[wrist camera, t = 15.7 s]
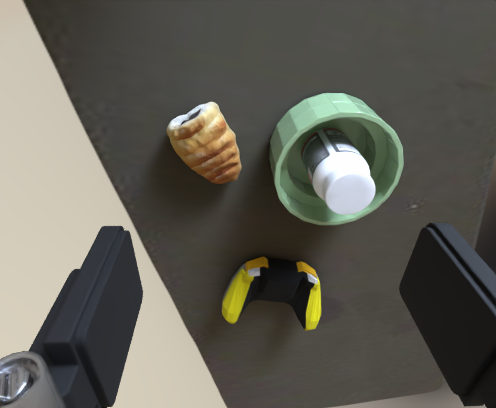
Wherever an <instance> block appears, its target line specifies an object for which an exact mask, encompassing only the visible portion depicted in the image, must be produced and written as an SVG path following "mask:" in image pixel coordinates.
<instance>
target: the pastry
mask: <svg viewBox="0 0 496 408" xmlns="http://www.w3.org/2000/svg"><path fill="white" fill-rule="evenodd" d="M167 135H168V136H169V138H170V142H171V144H172V146H173V148H174V150H175V152H176V153H177V154H178V155H179V156H180V157H181V158H182V160H183V161H184V162H185V164H187V165H188V166H189V167H190V168H191V169H192V170H194V171H196V172H197V173H198V174H200V175H202V176H204V177H205V178H206V179H207V180H209V181H211V182H213V183H215V184H222V183H226V182H229V181H234V180H236V179H237V177H238V175H239V172H240V170H241V163H240V159H239V150H238V147H237V144H236V140H235V139H236V137H235V134H234V132H233V131H232V130H231V129H230V128H229V126H228V124H227V123H226V121H225V118H224V117H223V115H222V114H221V112H220V110H219V106H218V105H217V104H216V103H214V102H209V103H206V104H202V105H199V106H197V107H195V108H194V109H193V110H191V111H190V112H189V113H188V114H186V115H181V116H178V117H176V118H175V119H173V120H172V121H171V122H170V124H169V125H168V128H167Z"/></svg>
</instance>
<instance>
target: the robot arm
mask: <svg viewBox="0 0 496 408" xmlns="http://www.w3.org/2000/svg"><path fill="white" fill-rule="evenodd" d="M399 290H400V294H401V297H402V299H403V301H404V302H405V304H406V306H407V308H408V310H409V312H410V314H411V316H412V317H413V319H414V321H415V323H416V325H417V327H418V329H419V331H420V332H421V334H422V336H423V338H424V340H425V342H426V344H427V346H428V347H429V349H430V351H431V353H432V355H433V357H434V359H435V361H436V363H437V364H438V366H439V368H440V370H441V372H442V374H443V376H444V378H445V379H446V381H447V383H448V385H449V387H450V388H451V390H452V391H453V392H454V393H455V394H456V395H458V396H459V397H460V399H461V401H462V402H463V405H464V406H482V405H484V404H485V406H486V407H487V408H496V275H495V274H494V272H493V271H492V270H491V269H490V268H489V267H488V266H487V265H486V263H485V262H484V261H483V260H482V259H481V258H480V257H479V255H478V254H477V253H476V252H475V251H474V250H473V249H472V248H471V246H470V245H469V244H468V243H467V242H466V241H465V240H464V238H463V237H462V236H461V235H460V234H459V233H458V232H457V231H456V229H455V228H454V227H453V226H452V225H451V224H449V223H429V224H428V225H427V226H426V228H423V229H422V230H421V232H420V234H419V237H418V239H417V242H416V244H415V247H414V250H413V252H412V255H411V257H410V260H409V262H408V265H407V268H406V270H405V273H404V275H403V278H402V280H401V283H400V287H399ZM142 297H143V290H142V285H141V280H140V276H139V271H138V267H137V262H136V258H135V253H134V248H133V244H132V239H131V235H130V232H129V231H124V229H123V227H122V226H103V227H102V228H101V229H100V231H99V233H98V235H97V237H96V239H95V241H94V243H93V245H92V247H91V249H90V251H89V253H88V255H87V256H86V258H85V260H84V262H83V264H82V267H81V269H74V270H73V271H72V272H71V273H70V275H69V277H68V278H67V280H66V282H65V284H64V286H63V288H62V289H61V291H60V293H59V295H58V297H57V299H56V301H55V303H54V305H53V306H52V308H51V310H50V312H49V314H48V316H47V318H46V320H45V321H44V323H43V325H42V327H41V329H40V331H39V333H38V334H37V336H36V338H35V340H34V342H33V344H32V346H31V347H30V349H29V351H22V352H17V353H13V354H10V355H8V356H6V357H3V358H1V359H0V408H107V407H112V406H113V404H114V402H115V399H116V396H117V392H118V388H119V384H120V381H121V377H122V373H123V370H124V366H125V362H126V358H127V355H128V351H129V347H130V344H131V340H132V336H133V332H134V328H135V325H136V321H137V318H138V314H139V310H140V307H141V303H142Z"/></svg>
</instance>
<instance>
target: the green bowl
mask: <svg viewBox="0 0 496 408" xmlns="http://www.w3.org/2000/svg"><path fill="white" fill-rule="evenodd" d="M322 128H336V129H338V130H340V131H342V132H343V133H344V134H346V136H347V137H348V138H349V139H350V141H351V142H352V143H353V145H354V146H355V148H356V149H357V150H358V152H359V153H360V154H361V156H362V157H363V158H364V159H365V161H366V163H367V164H368V167H369V170H370V177H371V178H372V180H373V182H374V184H375V195H374V198H373V200H372V201H371V203H370V204H369V205H368V206H367V207H366V208H364V209H363V210H361V211H359V212H357V213H354V214H350V215H342V214H337V213H335V212H333V211H332V210H330V209H329V207H328V206H327V204H326V202H325V200H323V199H322V198H320V197H319V196H318V195H317V193H316V192H315V190H314V188H313V185H312V183H311V181H310V178H309V176H308V173H307V171H306V168H305V166H304V164H303V161H302V157H301V150H302V146H303V144H304V142H305V140H306V139H307V138H308V136H309V135H311V134H312V133H313V132H315V131H317V130H319V129H322ZM269 160H270V165H271V170H272V174H273V179H274V184H275V187H276V190H277V194H278V197H279V200H280V201H281V202H282V203H283V205H284V206H285V207H286V209H287V210H288V211H289V212H290V213H292V214H293V215H295V216H296V217H298V218H300V219H301V220H303V221H306V222H310V223H314V224H317V225H339V224H343V223H347V222H351V221H355V220H357V219H359V218H361V217H363V216H365V215H367V214H369V213H371V212H372V211H374V210H375V209H376V208H377V207H378V206H380V205H381V204H382V203H383V202H384V201H385V200H386V199H387V198H388V197H389V195H390V194H391V192H392V191H393V190H394V188H395V187H396V185H397V184H398V181H399V178H400V175H401V172H402V168H403V148H402V145H401V143H400V141H399V139H398V137H397V134H396V132H395V131H394V130H393V129H392V128H391V127H390V126H389V125H388V124H387V123H386V122H385V121H384V120H383V119H382V118H380V117H379V116H378V115H377V114H376V113H375V112H374V111H373V110H372V109H371V108H370V107H369V106H367V105H366V104H365V103H364V102H363V101H362V100H360V99H358V98H355V97H352V96H350V95H347V94H344V93H324V94H320V95H317V96H314V97H311V98H307V99H305V100H303V101H302V102H300V103H299V104H297V105H296V106H294V107H293V108H291V109H290V110H289V111H288V112H287V113H286V114H285V115H284V117H283V118H282V119H281V120H280V122H279V123H278V124H277V125H276V128H275V130H274V133H273V135H272V138H271V140H270V149H269Z"/></svg>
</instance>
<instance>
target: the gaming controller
mask: <svg viewBox="0 0 496 408" xmlns="http://www.w3.org/2000/svg"><path fill="white" fill-rule="evenodd" d="M253 300H266V301H276V302H285V303H287V304H290V305H291V306H292V307H293V309H294V311H295V313H296V315H297V317H298V319H299V321H300V323H301V325H302V326H303V328H304V330H311V329H315V328H316V326H317V324H318V321H319V319H320V316H321V293H320V282H319V279H318V276H317V273H316V272H315V270H314V269H313V268H311V267H310V266H308V265H307V264H306V263H304V262H302V261H300V262H297V263H296V262H291V261H283V260H275V259H267V258H265V257H259V258H257V259H254V260H252V261H248V262H246V263H245V264H243V265H242V266H241V267H240V268H239V269H238V271H237V272H236V273H235V275H234V276H233V277H232V279H231V281H230V283H229V285H228V287H227V289H226V292H225V294H224V296H223V300H222V308H221V310H222V314H223V316H224V318H225V319H226V321H228V322H229V323H232V324H233V323H235V322H237V320H238V319H239V317H240V316H241V314H242V313H243V311H244V309H245V308H246V306H247V305H248V303H249V302H251V301H253Z"/></svg>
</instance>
